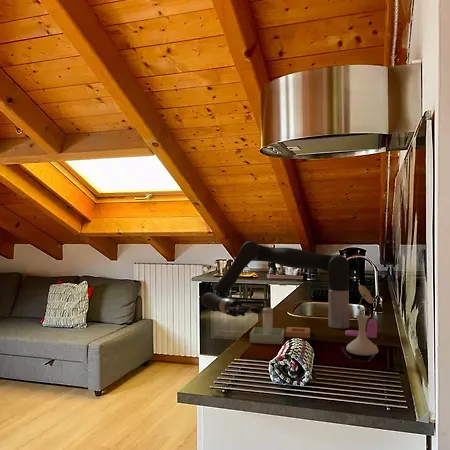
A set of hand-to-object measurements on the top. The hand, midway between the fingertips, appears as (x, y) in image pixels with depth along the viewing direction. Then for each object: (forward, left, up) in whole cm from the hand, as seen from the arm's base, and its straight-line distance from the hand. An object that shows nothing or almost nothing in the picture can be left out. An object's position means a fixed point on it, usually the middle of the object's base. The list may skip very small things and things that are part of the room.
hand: (252, 312), depth 195 cm
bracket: (-46, -10, -10) cm, 48 cm away
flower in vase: (-43, +20, -10) cm, 49 cm away
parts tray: (-7, +7, -10) cm, 14 cm away
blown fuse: (-7, +7, -9) cm, 13 cm away
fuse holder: (-19, -5, -10) cm, 22 cm away
